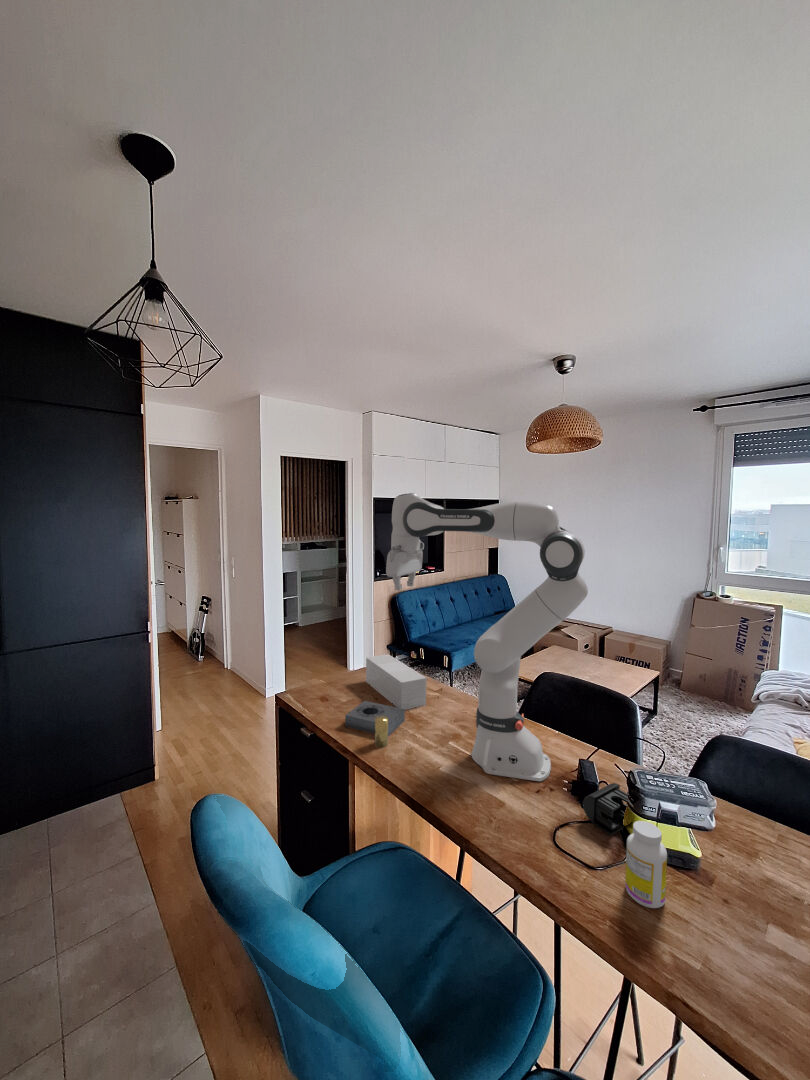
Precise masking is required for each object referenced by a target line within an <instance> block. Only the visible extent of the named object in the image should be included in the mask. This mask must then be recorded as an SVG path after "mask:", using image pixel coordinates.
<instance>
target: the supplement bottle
mask: <svg viewBox="0 0 810 1080" xmlns="http://www.w3.org/2000/svg"><path fill="white" fill-rule="evenodd" d="M662 835H663V833H662V831H661V829H660V828H659V827H658V826H656V825H654V824H653V823H651V822H649V821H645V820H637V821H635V822H633V825H632V833H631V834H629V835H628V836H627V838H626V854H625V855H626V856H625V860H626V862H625V889H626V892H627V894H628V895H629V896H630V898H632V900H634V901H635V902H636V903H638V904H639V905H641V906H643V907H645V908H649V909H659V908H661V907H663V906H664V904H665V903H666V897H667V896H666V895H667V892H666V891H667V869H668V868H667V867H668V865H667V863H668V852H667V848H666V847H665V845H664V844H663V842H662Z"/></svg>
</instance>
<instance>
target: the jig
mask: <svg viewBox="0 0 810 1080" xmlns="http://www.w3.org/2000/svg"><path fill="white" fill-rule="evenodd" d="M405 711H406V710H405V709H401V708H397V707H396V706H391V705H386V704H381V703H377V702H372V701H368V700H363V702H360V704H358V705H356V706H355V707H354V708H353V709H352V710H350V711H349V712H348V713H346V714H345V715H344V716H345V717H344V718H345V719H344V721H345V722H344V723H345V724H344V726H345V728H349V729H352V730H357V731H361V732H365V733H369V734H373V735H375V718H376V717H378V716H386V717H387V718H388V738H389V737H390V736H391V735H392V734H393V733H394V732H395V731H396V730H397V729H398V728H399V727H400V726H401V725H402V723H404V722H405V718H406V717H405V716H406V715H405V714H406V713H405Z"/></svg>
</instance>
